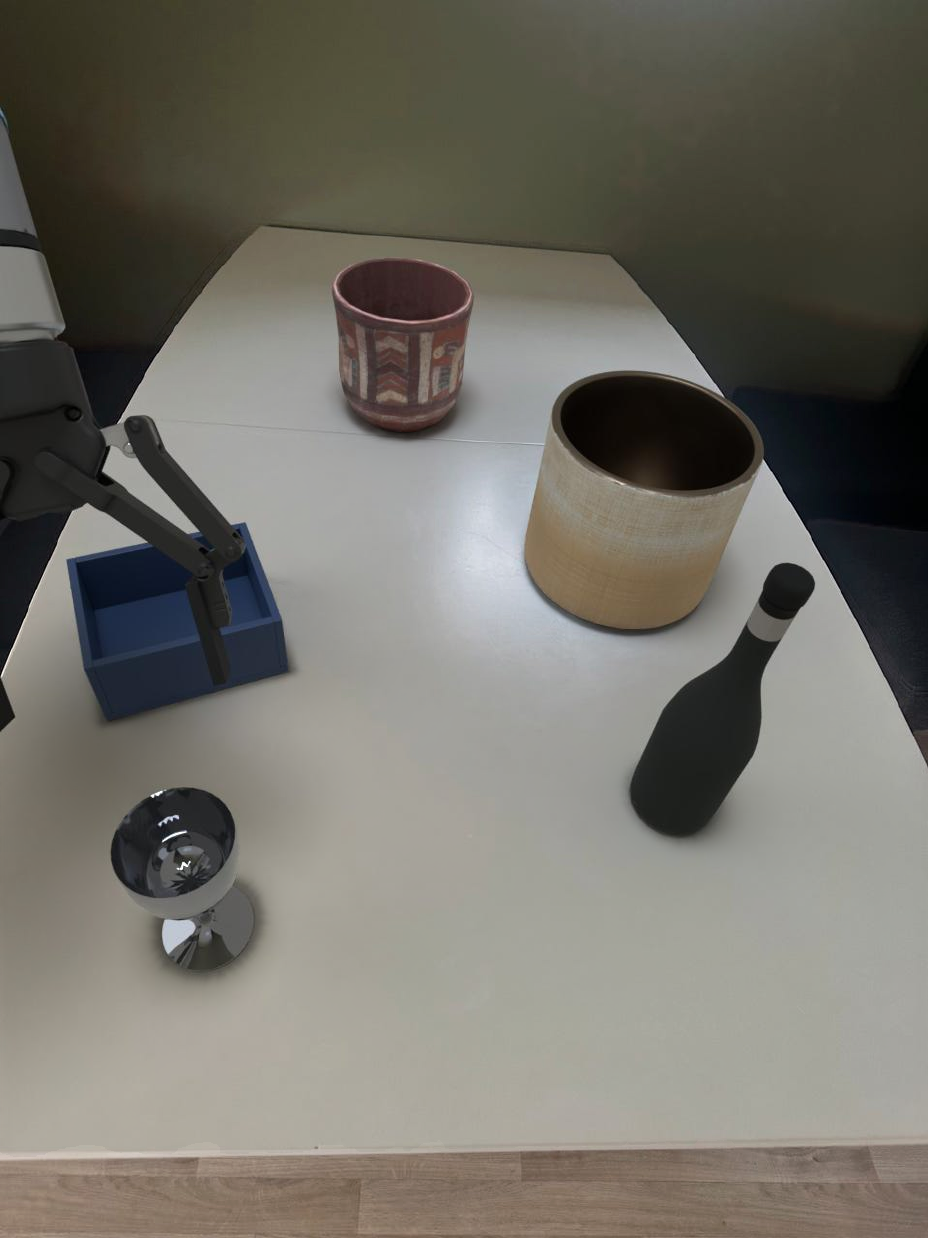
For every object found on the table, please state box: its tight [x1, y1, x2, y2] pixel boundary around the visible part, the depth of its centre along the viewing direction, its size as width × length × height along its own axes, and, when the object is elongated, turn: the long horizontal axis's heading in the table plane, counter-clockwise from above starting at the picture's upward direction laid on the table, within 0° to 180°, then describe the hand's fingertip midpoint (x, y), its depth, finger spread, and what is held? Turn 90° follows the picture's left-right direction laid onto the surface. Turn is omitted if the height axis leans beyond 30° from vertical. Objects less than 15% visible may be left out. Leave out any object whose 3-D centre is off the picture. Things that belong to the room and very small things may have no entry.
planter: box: [524, 369, 765, 630], centre depth 88 cm, size 22×22×20 cm
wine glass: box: [110, 786, 255, 972], centre depth 58 cm, size 8×8×15 cm
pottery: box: [331, 257, 475, 433], centre depth 107 cm, size 18×18×18 cm
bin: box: [65, 521, 290, 722], centre depth 80 cm, size 18×15×8 cm
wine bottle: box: [630, 562, 816, 835], centre depth 64 cm, size 8×8×30 cm
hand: (113, 702), depth 50 cm, fingers open, 13 cm apart
